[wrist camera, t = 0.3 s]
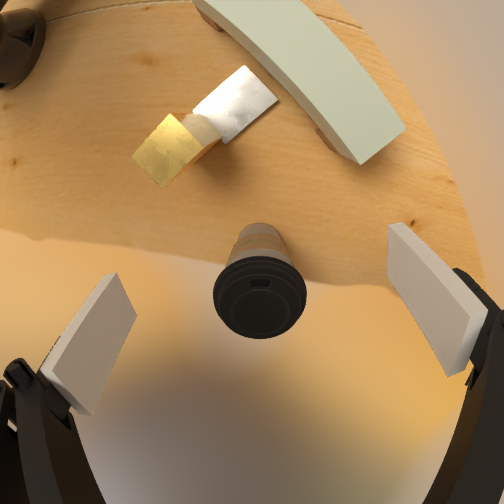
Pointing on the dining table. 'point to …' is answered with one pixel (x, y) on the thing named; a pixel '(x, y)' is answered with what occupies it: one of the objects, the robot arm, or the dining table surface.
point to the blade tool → (203, 126)
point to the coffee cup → (259, 286)
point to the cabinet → (311, 71)
